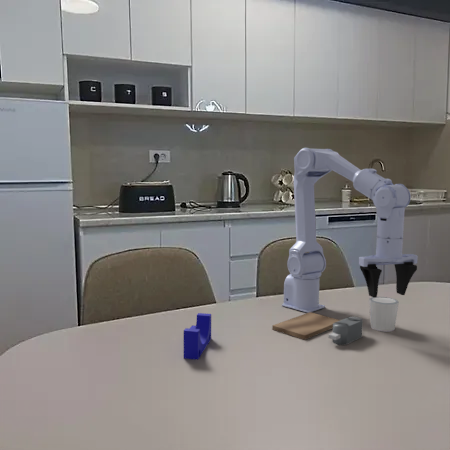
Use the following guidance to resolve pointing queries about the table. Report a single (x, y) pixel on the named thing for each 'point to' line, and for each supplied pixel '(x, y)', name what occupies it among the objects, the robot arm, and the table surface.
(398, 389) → the table surface
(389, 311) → the white cup
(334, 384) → the table surface
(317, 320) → the walnut board
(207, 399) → the table surface
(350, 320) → the connector plug
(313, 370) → the table surface
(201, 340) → the cable clip
